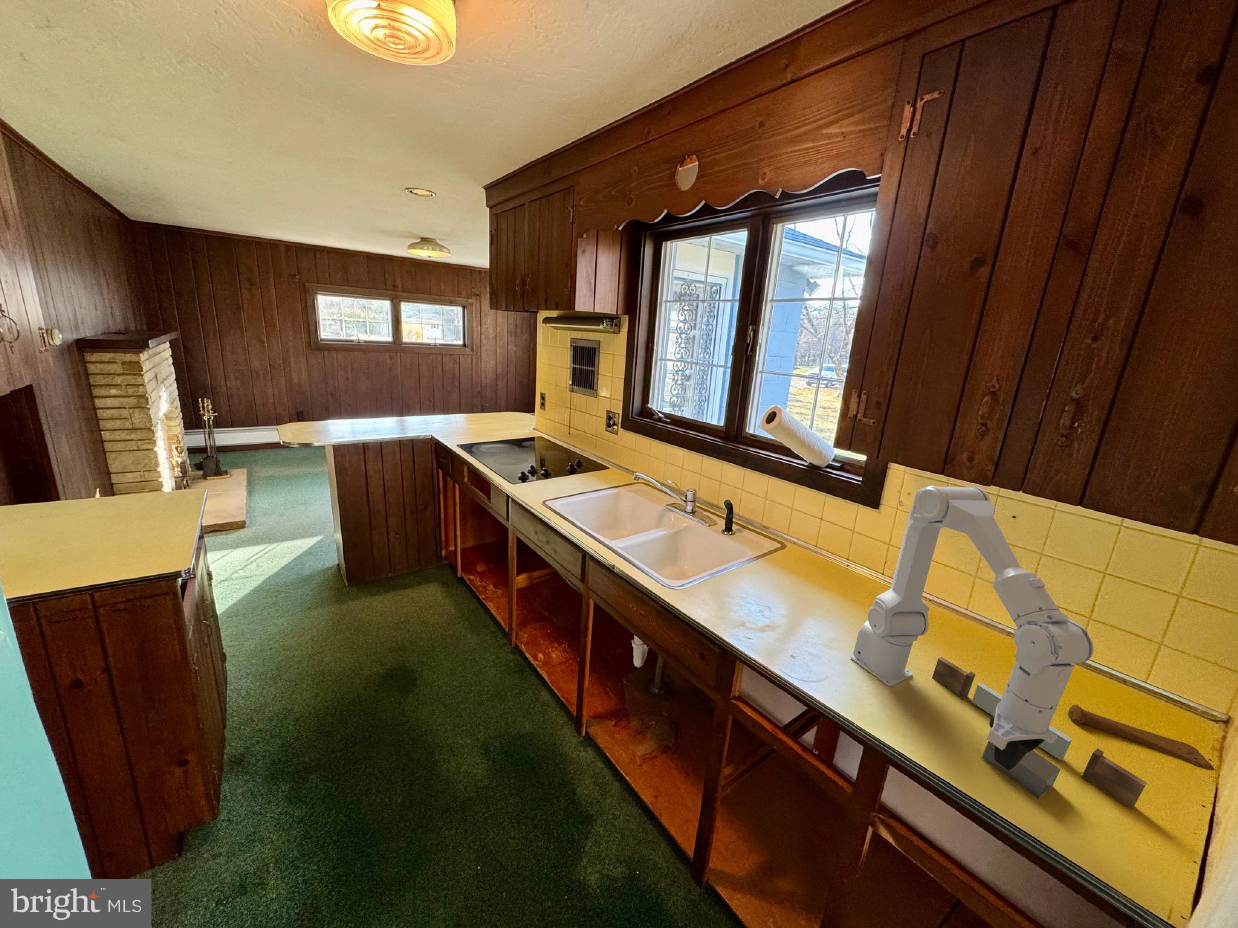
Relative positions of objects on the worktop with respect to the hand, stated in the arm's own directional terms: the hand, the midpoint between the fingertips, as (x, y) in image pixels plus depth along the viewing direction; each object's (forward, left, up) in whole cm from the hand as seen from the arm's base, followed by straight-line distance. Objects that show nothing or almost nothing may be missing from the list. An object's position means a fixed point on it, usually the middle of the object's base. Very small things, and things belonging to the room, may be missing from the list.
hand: (1003, 763), depth 72 cm
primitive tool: (+6, +38, -7) cm, 39 cm away
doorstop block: (0, +8, -6) cm, 10 cm away
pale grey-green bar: (-5, +18, -6) cm, 20 cm away
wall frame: (-4, +18, -6) cm, 19 cm away
